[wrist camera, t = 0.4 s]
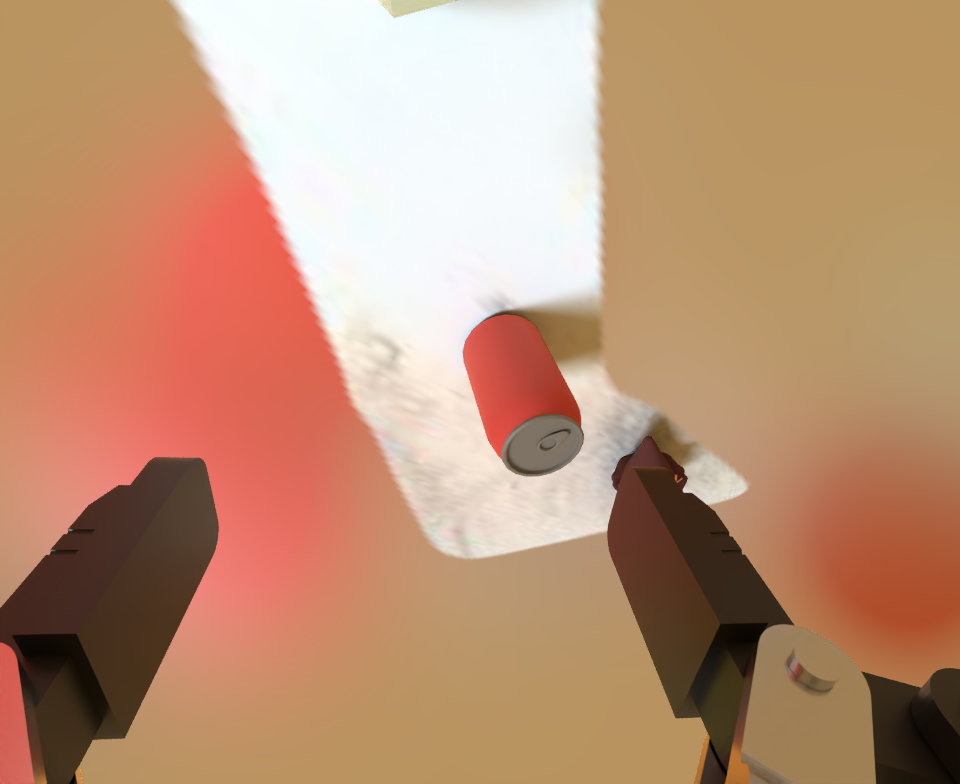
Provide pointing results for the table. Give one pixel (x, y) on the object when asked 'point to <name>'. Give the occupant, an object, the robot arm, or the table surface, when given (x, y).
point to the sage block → (410, 5)
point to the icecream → (649, 462)
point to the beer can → (522, 396)
